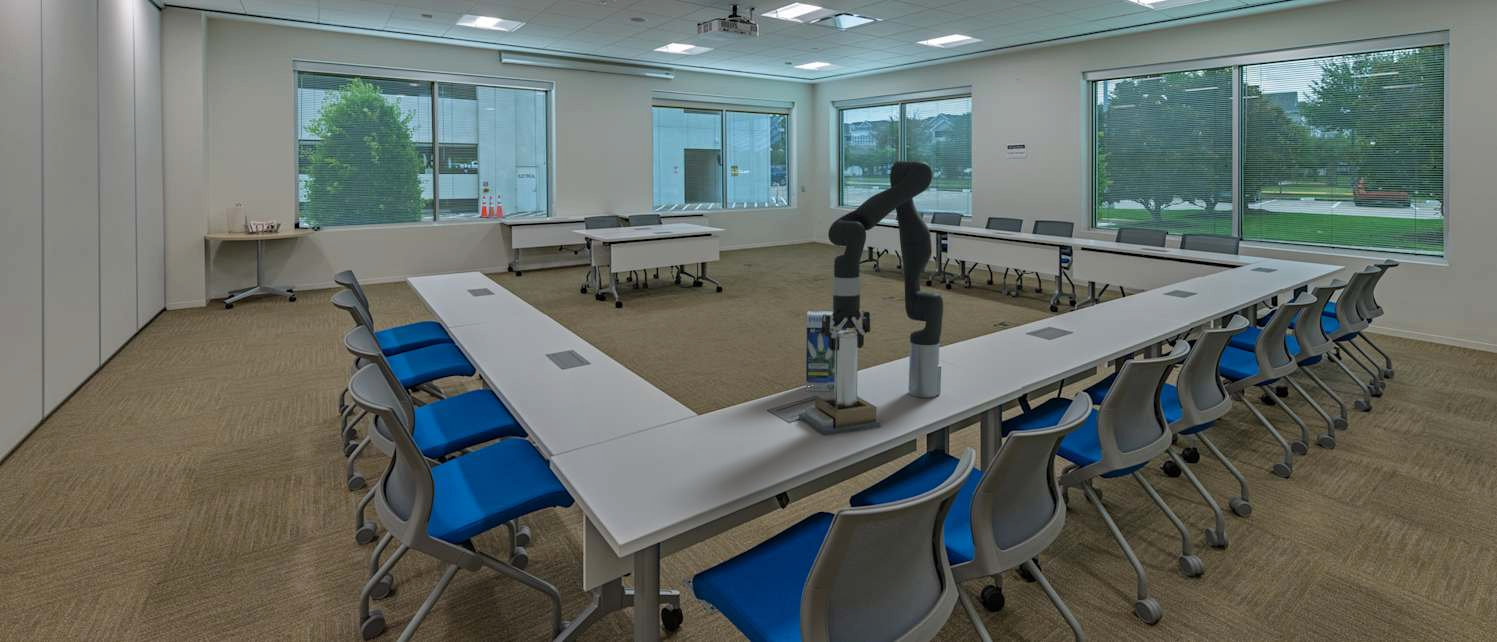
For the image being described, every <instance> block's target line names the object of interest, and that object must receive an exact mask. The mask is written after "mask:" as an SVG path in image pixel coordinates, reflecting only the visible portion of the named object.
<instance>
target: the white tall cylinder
mask: <svg viewBox="0 0 1497 642" xmlns="http://www.w3.org/2000/svg"><path fill="white" fill-rule="evenodd" d="M856 334H857V332H856V331H852V330H847V331H839V332H838V333H837V334H836V336H835V338H836V345H835V381H834V392H833V393H834V396H833V397H834V407H835V408H837V409H838V410H841V409H848V408H855V407H857V396H858V354H859V353H858V352H859V348H858V335H856Z"/></svg>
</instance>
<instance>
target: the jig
mask: <svg viewBox="0 0 1497 642" xmlns="http://www.w3.org/2000/svg"><path fill="white" fill-rule="evenodd" d="M877 410H878V409H877V406H876V405H874V404H872V403H870V402H868V401H867V400H865V399H863V398H862V397H859V396H858V395H857V407H855V408H848V409H841V410H838V409H837V408H835V407H834V396H833V397H826V398H819V399H818V398H817V399H815V400H814V406H812V407H805V408H804V412H799V414H798V419H800V420H801V421H802V422H804V423H805V424H807V425H808V426H809V427H811V428H812V429H813V430H815V431H816V432H818V433H819V434H821V435H822V436H828V435H835V434H836V435H837V434H843V433H849V431H850V432H855V430H856V431H861V430H862V429H863V430H868V429H867V428H870V429H874V428H873V427H876V428H881V427H882V425H881V421H880V420H878V419H877ZM880 426H881V427H880ZM863 430H862V431H863Z"/></svg>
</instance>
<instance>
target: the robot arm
mask: <svg viewBox="0 0 1497 642" xmlns="http://www.w3.org/2000/svg"><path fill="white" fill-rule="evenodd" d="M932 179H933V171H932V168H931V166H930V164H928V163H927V162H925V161H921V160H897V161H896V162H894V163H893V165H892V166H891V168H890V174H889V184H890V188H887V189H885V190H883V191H880V192H878V193H875V194H874V195H873V196H871V197H869V198H867V199H866V200H865V201H864V202H863V203H861V205H859V206H858V207H857V208H856V209H855V210H852V211H850V212H848V213H846V214H844V215H843V216H841V217H839V218H837V219H836V220H834V221H833V223H832V224H831V225H830V227H829V229H828V234H827V235H828V239H829V240H828V241H830V242H831V244H832V245H834V246H837V247H845V251H844V253H843V254H840V255H837V256H835V258H834V263H833V284H832V312H833V314H832V315H826V314H824V315H823V317H822V335H824V336H826V337H828V347H829V349H830V350H831V351H835V345H836V338H834V337H835V336H836V334H837V333H838V332H839V331H840V330H841V329H846V328H847V329H854V332H856V335H858V349H862V348H863V346H864V343H865V342H864V341H865V340H864V339H865V338H864V336H865V334H868V333H870V332H871V314H870V312H869V311H867V310H862V311H860V308H861V282H860V281H861V280H860V264H861V263H860V262H861V258H862V255H863V251H864V247H865V244H866V239H867V232H866V231H870V230H871V229H872V230H873V228H875V226H877V225H878V224H879V223H880V222H881V221H882V220H883V219H884V218H886V217H887V216H888V215H889V214H890V213H892V212H893V211H895V212H896V218H897V224H898V225H897V226H898V230H899V242H900V243H899V244H900V251H901V252H900V253H901V258H902V266H903V275H904V276H903V277H904V278H903V281H904V306H905V313H906V316H907V317H908V319H910V320H913V321H917V322H925V324H924V328H922V329H920V330H919V329H918V330H914V331H912V332H911V333H910V336H909V363H908V365H909V366H908V367H909V369H908V394H909V395H910V396H912V397H917V398H924V399H926V398H934V397H937V396H939V395H941V390H942V389H941V385H942V365H940V342H941V340H940V339H941V334H942V329H943V328H942V327H943V318H944V317H943V316H944V300H943V297H942V296H941V295H940V293H934V292H926V291H921V277H922V274H923V272H924V270H925V269H926V267H927V265H928V263H929V261H930V259H931V256H932V253H933V248H932V238H931V232H930V229H929V226H928V225H927V223H926V222H925V220H924V219H923V217H922V216H921V214H920V212H918V210H917V207H916V205H915V203H914V200H913V199H914V197H917V196H918V195H920V194H922V193H923V192H925V191H926V190H927V189H929V187H930V185H931V183H932ZM832 319H833V320H834V323H833V324H832V326H831V329H830V322H831V320H832ZM860 319H861V324H860V322H859V320H860Z"/></svg>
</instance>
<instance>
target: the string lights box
mask: <svg viewBox="0 0 1497 642" xmlns="http://www.w3.org/2000/svg"><path fill="white" fill-rule="evenodd" d="M806 312H807V313H806V349H805V350H806V352H805V353H806V361H805V362H806V363H805V364H806V365H805V366H806V369H805V371H806V374H805V375H806V376H805V377H806V378H805V381H806V384H805V385H806V387H807V388H805V389H808V390H806V392H829V391H830V392H832V393H834V381H835V351H831V350H830V349H829V347H828V337H826V336H824V335H822V317H823V315H824V314H826V315H832V314H833V311H827V310H826V311H824V310H823V311H809V310H808V311H806ZM833 323H834V320H833V319H832V320H831V322H830V329H831V326H832V324H833ZM840 331H848V328H846V329H841V330H840ZM834 338H835V337H834ZM812 385H813V386H812ZM808 386H810V387H808ZM830 392H829V393H830Z"/></svg>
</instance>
